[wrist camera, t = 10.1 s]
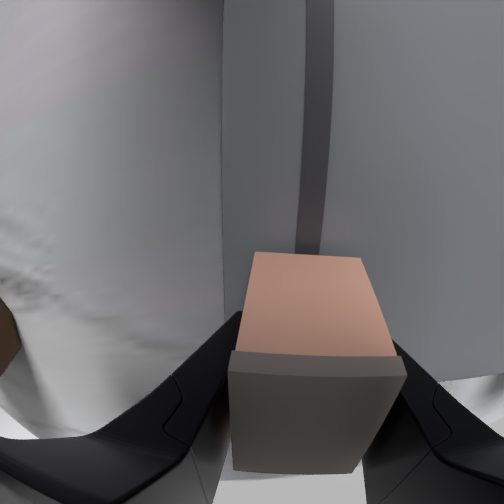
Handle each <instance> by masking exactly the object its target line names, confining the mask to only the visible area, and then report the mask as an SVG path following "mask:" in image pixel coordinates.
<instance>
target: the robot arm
mask: <svg viewBox="0 0 504 504" xmlns="http://www.w3.org/2000/svg"><path fill="white" fill-rule="evenodd" d="M242 314H243V311H236V312H235V313H234V314H233V315H232V316H231V317H230V318H229V319H228V320H227V321H226V322H225V323H224V324H223V325H222V326H221V327H220V328H219V329H218V330H217V331H216V332H215V333H214V334H213V335H212V336H211V337H210V338H209V339H208V340H207V341H206V342H205V343H204V344H203V345H201V346H200V347H199V348H198V349H197V350H196V351H195V352H194V353H193V354H192V355H191V356H190V357H189V358H188V359H187V360H186V361H185V362H184V363H183V364H182V365H181V366H180V367H178V368H177V369H176V370H175V371H174V372H173V373H172V375H170V376H169V377H168V378H167V379H166V380H165V381H163V382H162V383H161V384H160V385H159V386H158V387H157V388H156V389H154V390H153V391H152V392H151V393H150V394H148V395H147V396H146V397H145V398H143V399H142V400H141V401H139V402H138V403H137V404H135V405H134V406H132V407H131V408H130V409H128V410H127V411H125V412H124V413H123V414H121V415H120V416H118V417H117V418H115V419H114V420H112V421H111V422H110V423H108V424H107V425H105V426H104V427H102V428H100V429H99V430H97V431H95V432H93V433H90V434H88V435H84V436H78V437H67V438H52V439H30V440H17V439H8V438H3V437H0V504H212V503H213V499H214V496H215V492H216V489H217V486H218V482H219V479H220V475H221V472H222V468H223V465H224V461H225V458H226V454H227V450H228V447H229V443H230V440H231V425H230V407H229V389H228V367H229V362H230V357H231V352H232V350H234V351H235V349H236V344H237V339H238V334H239V329H240V324H241V319H242ZM391 339H392V338H391ZM392 342H393V345H394V348H395V351H396V354H397V356H401V357H402V360H403V363H404V366H405V369H406V372H407V377H406V379H405V381H404V384H403V386H402V388H401V390H400V392H399V394H398V396H397V397H396V399H395V401H394V403H393V405H392V407H391V409H390V411H389V413H388V414H387V416H386V418H385V420H384V422H383V423H382V425H381V427H380V429H379V430H378V432H377V434H376V436H375V437H374V439H373V441H372V442H371V444H370V446H369V447H368V449H367V450H366V452H365V454H364V455H363V457H362V464H363V473H364V481H365V490H366V500H367V504H504V437H502V436H500V435H499V434H497V433H496V432H495V431H494V430H492V429H491V428H490V427H489V426H487V425H486V424H485V423H484V422H482V421H481V420H480V419H479V418H477V417H476V416H475V415H474V414H473V413H471V412H470V411H469V410H468V409H466V408H465V407H464V406H463V405H462V404H461V403H459V402H458V401H457V400H456V399H455V398H454V397H453V396H452V395H451V394H450V393H448V392H447V391H446V390H445V389H444V388H443V387H442V386H441V385H440V384H438V382H437V381H436V380H435V379H434V378H433V377H432V376H431V375H430V374H429V373H428V372H427V371H426V370H424V369H423V368H422V367H421V366H420V365H419V364H418V363H417V362H416V361H415V360H414V359H413V358H412V357H411V356H410V355H409V354H408V353H407V352H406V351H405V350H403V349H402V348H401V347H400V346H399V345H398V344H397V343H396V342H395V341H394V340H393V339H392Z"/></svg>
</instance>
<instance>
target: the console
mask: <svg viewBox="0 0 504 504" xmlns="http://www.w3.org/2000/svg"><path fill="white" fill-rule="evenodd" d="M221 147H222V235H223V276H224V307H225V322H226V321H227V320H228V319H229V318H230V317H231V316H232V315H233V314H234V313H235V312H236V311H243V309H244V304H245V299H246V294H247V289H248V284H249V279H250V274H251V269H252V264H253V259H254V253H255V252H271V253H288V254H305V255H321V256H338V257H355V258H361V261H362V263H363V265H364V268H365V270H366V273H367V275H368V278H369V280H370V283H371V285H372V288H373V290H374V293H375V296H376V298H377V301H378V303H379V306H380V309H381V311H382V314H383V317H384V320H385V322H386V325H387V328H388V331H389V334H390V336H391V338H392V339H393V340H394V341H395V342H396V343H397V344H398V345H399V346H400V347H401V348H402V349H403V350H405V351H406V352H407V353H408V354H409V355H410V356H411V357H412V358H413V359H414V360H415V361H416V362H417V363H418V364H419V365H420V366H421V367H422V368H423V369H424V370H426V371H427V372H428V373H429V374H430V375H431V376H432V377H433V378H434V379H435V380H436V381H437V382H440V381H449V380H458V379H466V378H474V377H481V376H488V375H494V374H500V373H504V0H224V8H223V45H222V129H221Z"/></svg>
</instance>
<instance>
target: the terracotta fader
mask: <svg viewBox="0 0 504 504" xmlns="http://www.w3.org/2000/svg"><path fill="white" fill-rule="evenodd" d="M406 377H407V372H406V369H405V366H404V363H403V360H402V357H401V356H397V354H396V351H395V348H394V345H393V342H392V339H391V336H390V334H389V331H388V328H387V325H386V322H385V320H384V317H383V314H382V311H381V309H380V306H379V303H378V301H377V298H376V296H375V293H374V290H373V288H372V285H371V283H370V280H369V278H368V275H367V273H366V270H365V268H364V265H363V263H362V261H361V258H355V257H338V256H321V255H305V254H288V253H271V252H255V253H254V259H253V264H252V269H251V274H250V279H249V284H248V289H247V294H246V299H245V304H244V309H243V314H242V319H241V324H240V329H239V334H238V339H237V344H236V349H235V351H234V350H232V352H231V357H230V362H229V367H228V389H229V407H230V425H231V441H232V456H233V470H236V471H246V472H258V473H274V474H308V475H313V474H347V473H352V472H353V470H354V469H355V468H356V466H357V465H358V463H359V461H360V460H361V458H362V457H363V455H364V454H365V452H366V450H367V449H368V447H369V446H370V444H371V442H372V441H373V439H374V437H375V436H376V434H377V432H378V430H379V429H380V427H381V425H382V423H383V422H384V420H385V418H386V416H387V414H388V413H389V411H390V409H391V407H392V405H393V403H394V401H395V399H396V397H397V396H398V394H399V392H400V390H401V388H402V386H403V384H404V381H405V379H406Z"/></svg>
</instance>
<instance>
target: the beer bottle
mask: <svg viewBox="0 0 504 504" xmlns="http://www.w3.org/2000/svg"><path fill="white" fill-rule="evenodd" d="M20 346H21V342H20V339H19V336H18V333H17V330H16V327H15V323H14V320H13V317H12V313H11V311H10V310H9V309H8V307H7V306H6V305H5V304H4V302H3V301H2V300H1V298H0V376H1V375H2V374H3V372H4V371H5V370H6V368H7V367H8V366H9V364H10V363H11V361H12V360H13V358H14V357H15V355H16V354H17V353H18V351H19V350H20Z"/></svg>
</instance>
